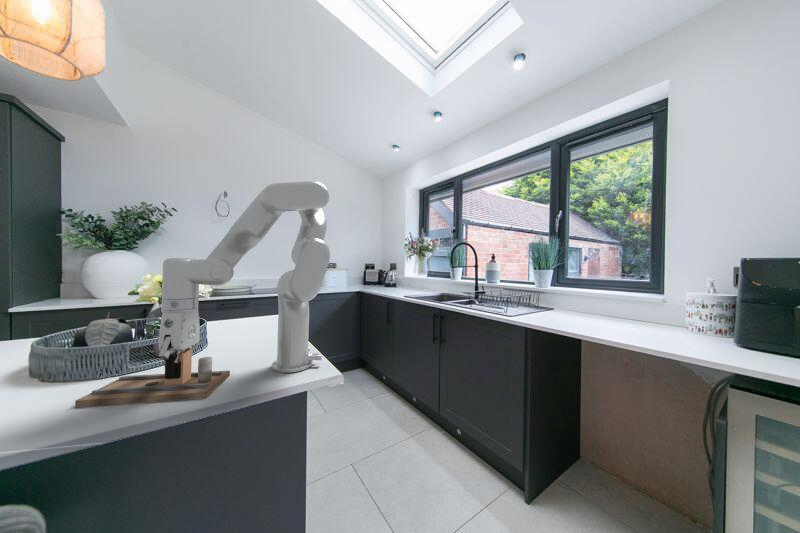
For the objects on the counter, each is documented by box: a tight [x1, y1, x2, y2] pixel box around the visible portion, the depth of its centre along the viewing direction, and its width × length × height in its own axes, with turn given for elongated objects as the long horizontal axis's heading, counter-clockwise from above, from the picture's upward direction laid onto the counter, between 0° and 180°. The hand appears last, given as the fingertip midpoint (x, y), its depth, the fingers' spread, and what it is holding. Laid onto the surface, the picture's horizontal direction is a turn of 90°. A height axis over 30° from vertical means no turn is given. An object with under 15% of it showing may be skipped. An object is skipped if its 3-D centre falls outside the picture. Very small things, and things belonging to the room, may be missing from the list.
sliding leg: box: [164, 348, 193, 386], centre depth 70 cm, size 4×4×9 cm
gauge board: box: [74, 356, 231, 408], centre depth 70 cm, size 26×14×8 cm, turn 102°
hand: (178, 373), depth 70 cm, fingers closed on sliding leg, 4 cm apart
